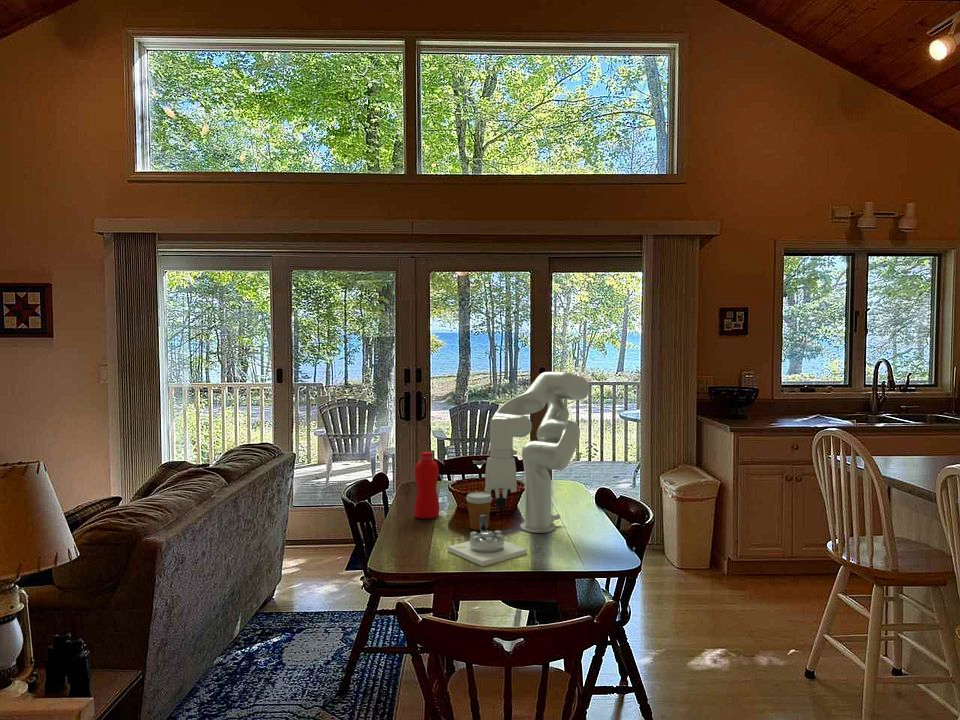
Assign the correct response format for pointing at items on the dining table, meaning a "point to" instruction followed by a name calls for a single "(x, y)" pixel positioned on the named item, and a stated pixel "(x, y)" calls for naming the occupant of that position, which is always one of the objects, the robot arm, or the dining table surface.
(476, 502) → the disposable coffee cup
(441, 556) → the dining table surface
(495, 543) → the silver lever knob
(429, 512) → the water bottle
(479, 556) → the base plate
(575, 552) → the dining table surface
